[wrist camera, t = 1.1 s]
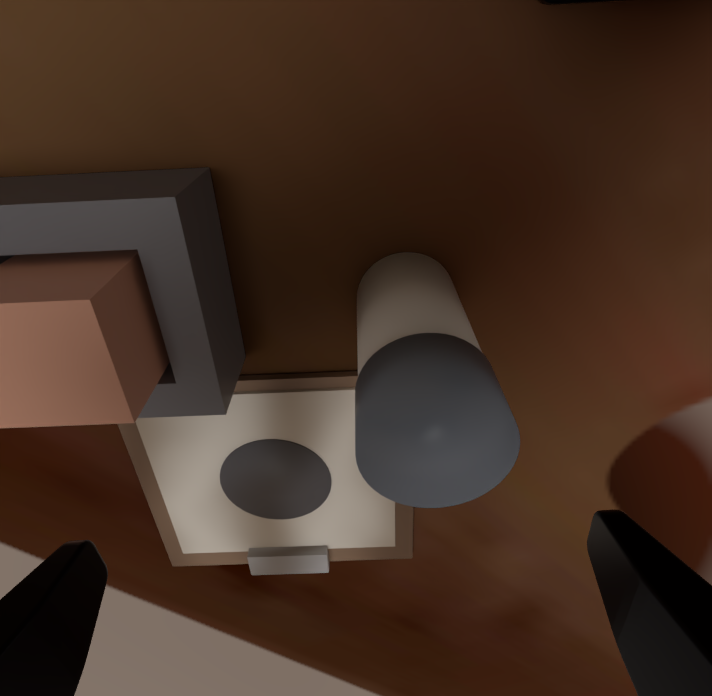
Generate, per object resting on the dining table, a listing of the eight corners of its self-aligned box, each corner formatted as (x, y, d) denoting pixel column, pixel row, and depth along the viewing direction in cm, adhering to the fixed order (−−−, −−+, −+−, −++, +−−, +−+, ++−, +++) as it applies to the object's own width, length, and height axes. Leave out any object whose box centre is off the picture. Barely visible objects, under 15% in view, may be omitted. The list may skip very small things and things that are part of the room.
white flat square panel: (415, 368, 22) (418, 384, 21) (411, 552, 29) (413, 570, 28) (106, 381, 22) (94, 397, 21) (174, 560, 29) (168, 578, 28)
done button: (144, 246, 16) (89, 299, 13) (174, 353, 19) (134, 422, 15) (19, 252, 16) (-68, 306, 13) (64, 358, 19) (-1, 428, 15)
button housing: (209, 167, 18) (174, 196, 14) (245, 356, 22) (226, 414, 18) (-13, 178, 18) (-100, 209, 14) (65, 364, 22) (13, 423, 18)
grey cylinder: (459, 247, 19) (531, 382, 12) (453, 339, 21) (509, 505, 14) (351, 251, 19) (351, 389, 12) (356, 344, 21) (358, 510, 14)
